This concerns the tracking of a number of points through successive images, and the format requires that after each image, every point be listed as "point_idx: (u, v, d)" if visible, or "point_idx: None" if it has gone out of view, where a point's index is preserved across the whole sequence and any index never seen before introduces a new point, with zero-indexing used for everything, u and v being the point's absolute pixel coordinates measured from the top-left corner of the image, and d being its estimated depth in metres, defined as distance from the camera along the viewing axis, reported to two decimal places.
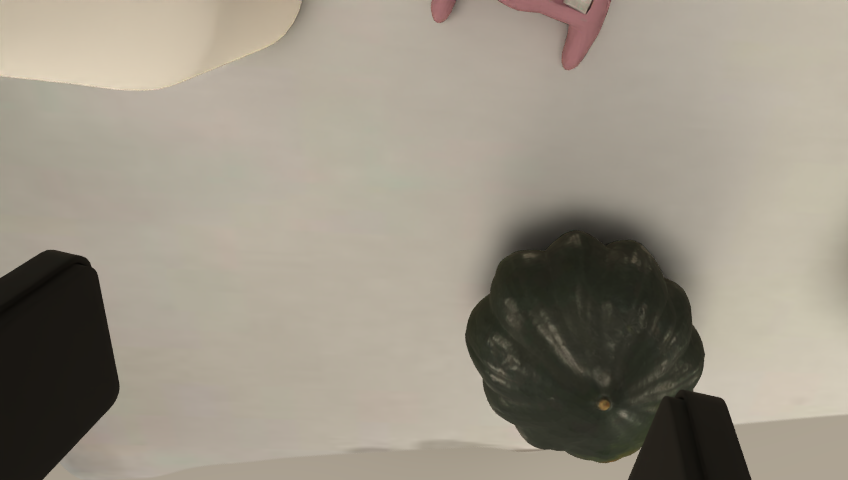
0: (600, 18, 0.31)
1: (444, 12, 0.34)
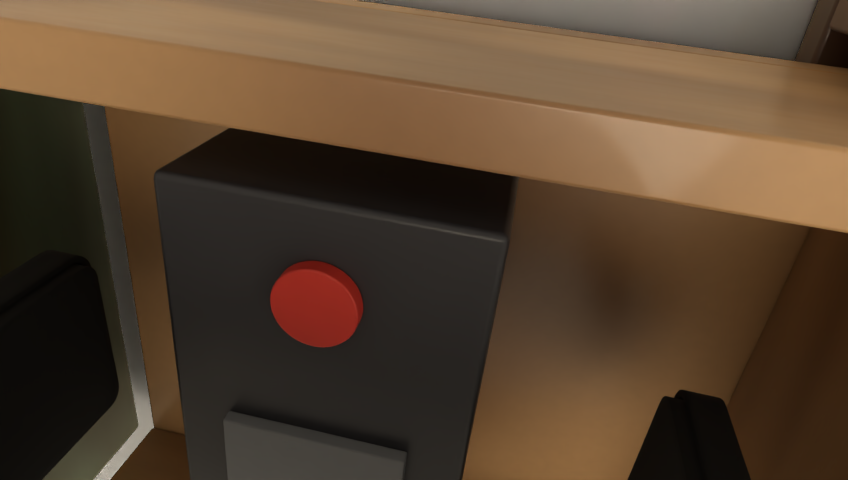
0: None
1: None
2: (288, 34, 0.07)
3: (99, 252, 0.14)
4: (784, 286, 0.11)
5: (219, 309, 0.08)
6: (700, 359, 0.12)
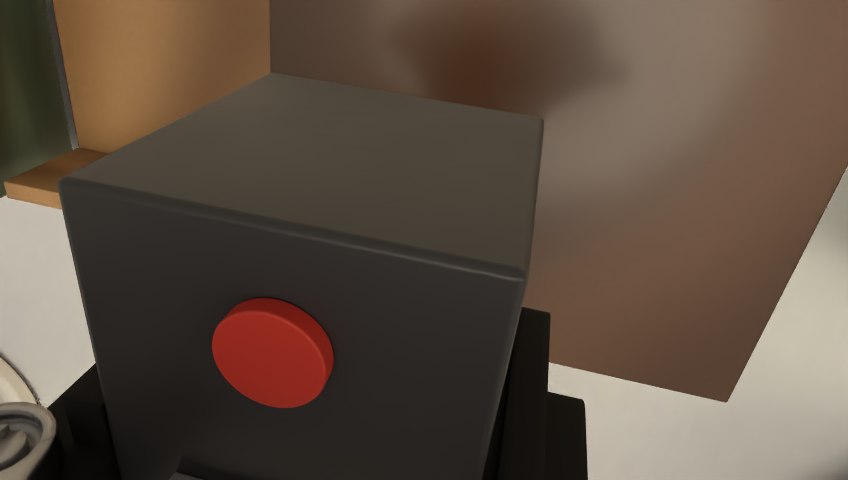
0: None
1: None
2: None
3: (47, 41, 0.27)
4: None
5: (153, 353, 0.06)
6: None
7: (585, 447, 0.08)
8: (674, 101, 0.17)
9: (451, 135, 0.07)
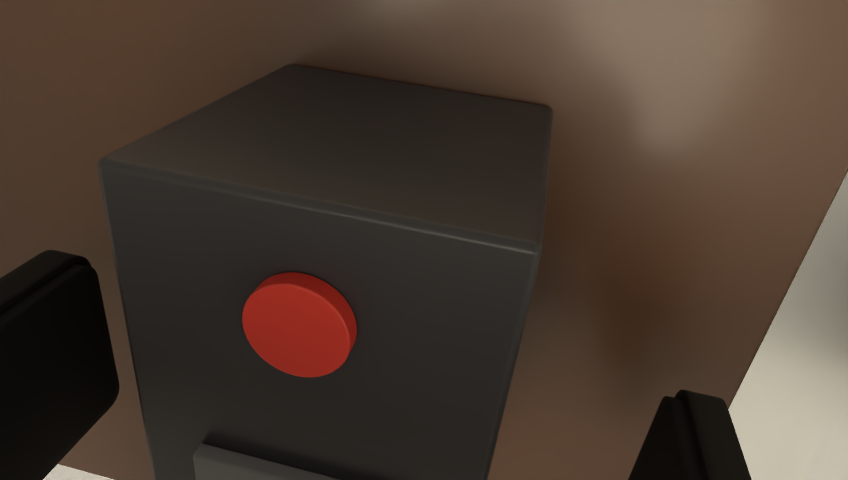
0: None
1: None
2: None
3: None
4: None
5: (184, 327, 0.06)
6: None
7: None
8: None
9: (464, 123, 0.08)
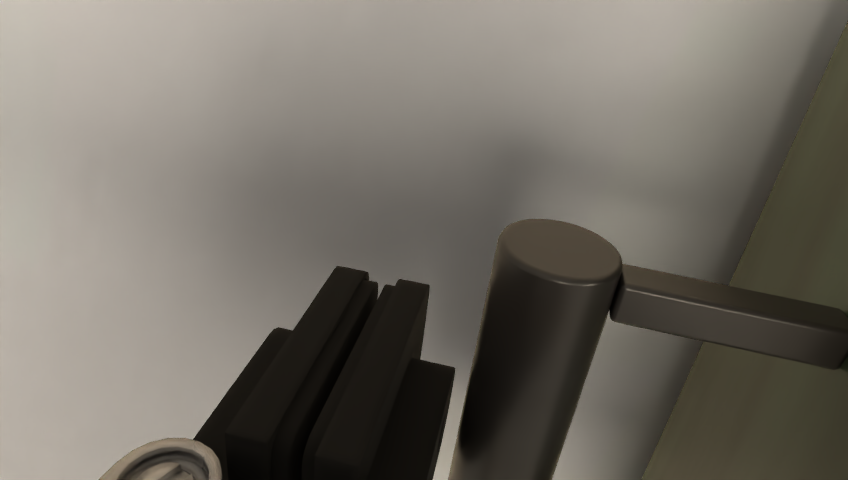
0: None
1: None
2: None
3: None
4: None
5: None
6: None
7: (443, 410, 0.08)
8: None
9: None
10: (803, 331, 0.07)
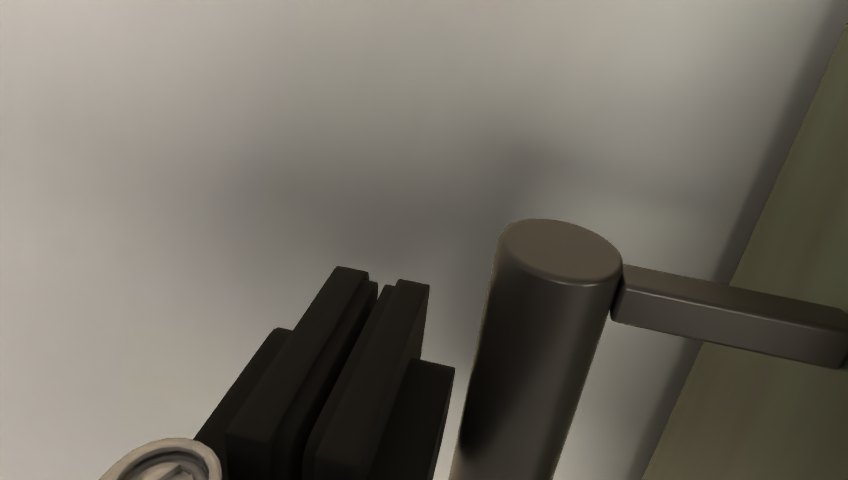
0: None
1: None
2: None
3: None
4: None
5: None
6: None
7: (443, 410, 0.08)
8: None
9: None
10: (804, 331, 0.07)
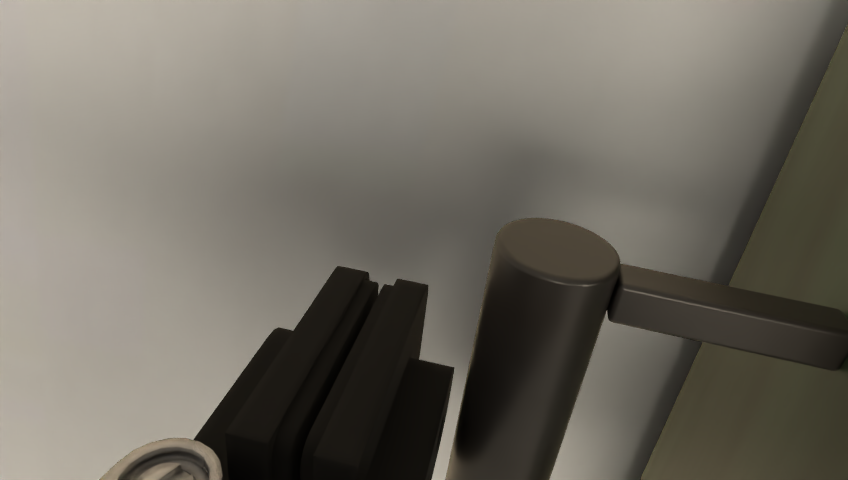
0: None
1: None
2: None
3: None
4: None
5: None
6: None
7: (442, 410, 0.08)
8: None
9: None
10: (802, 332, 0.07)
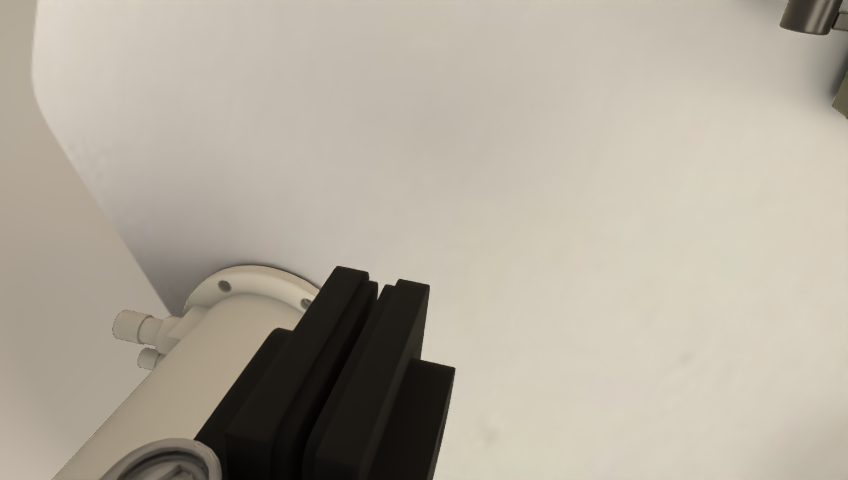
0: None
1: None
2: None
3: None
4: None
5: None
6: None
7: (443, 410, 0.08)
8: None
9: None
10: None
